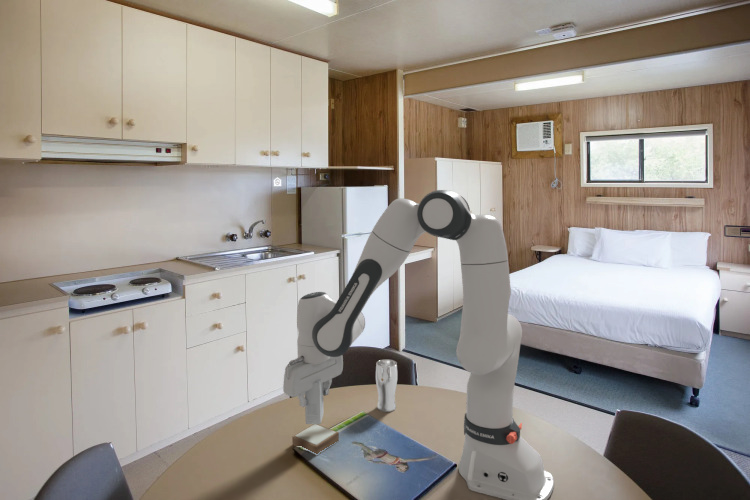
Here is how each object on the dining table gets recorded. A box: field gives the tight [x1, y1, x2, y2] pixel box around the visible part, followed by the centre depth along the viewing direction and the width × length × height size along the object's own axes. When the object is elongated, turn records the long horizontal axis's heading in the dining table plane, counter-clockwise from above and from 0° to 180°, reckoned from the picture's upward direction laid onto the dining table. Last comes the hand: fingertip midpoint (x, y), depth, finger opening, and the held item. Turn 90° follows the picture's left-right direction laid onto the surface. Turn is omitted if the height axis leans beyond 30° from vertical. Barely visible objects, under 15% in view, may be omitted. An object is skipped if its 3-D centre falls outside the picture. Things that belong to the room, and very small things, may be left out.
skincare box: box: [304, 379, 325, 425], centre depth 129 cm, size 6×4×12 cm
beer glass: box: [375, 359, 398, 413], centre depth 150 cm, size 7×7×15 cm
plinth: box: [291, 424, 340, 454], centre depth 130 cm, size 9×9×3 cm
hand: (314, 400), depth 129 cm, fingers closed on skincare box, 7 cm apart
